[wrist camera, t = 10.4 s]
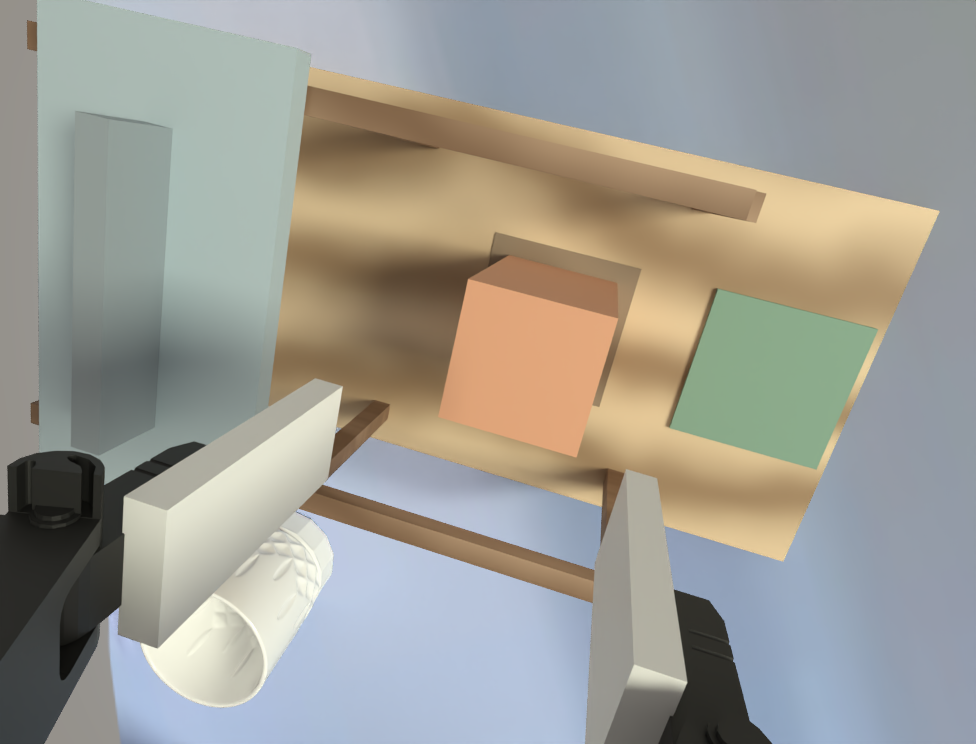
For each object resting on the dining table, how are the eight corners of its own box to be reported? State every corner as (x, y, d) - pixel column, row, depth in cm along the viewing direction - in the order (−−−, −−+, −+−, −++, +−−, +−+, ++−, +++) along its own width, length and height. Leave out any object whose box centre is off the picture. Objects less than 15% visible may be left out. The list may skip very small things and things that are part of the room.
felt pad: (814, 467, 34) (816, 469, 33) (669, 426, 35) (669, 428, 34) (875, 328, 31) (878, 329, 31) (717, 288, 32) (718, 289, 32)
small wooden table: (777, 550, 37) (856, 721, 25) (199, 376, 41) (31, 451, 29) (927, 210, 30) (1127, 221, 19) (226, 49, 35) (26, -25, 23)
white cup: (241, 488, 43) (135, 571, 34) (347, 515, 42) (269, 608, 32) (237, 584, 45) (139, 686, 36) (338, 611, 44) (263, 724, 35)
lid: (254, 517, 28) (197, 568, 24) (58, 453, 29) (-27, 492, 25) (311, 54, 22) (247, 25, 18) (60, -2, 23) (-49, -41, 19)
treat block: (586, 386, 35) (576, 457, 25) (484, 357, 36) (438, 417, 26) (617, 282, 33) (618, 318, 24) (509, 255, 34) (468, 279, 24)
